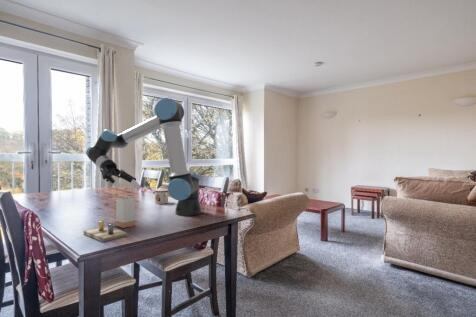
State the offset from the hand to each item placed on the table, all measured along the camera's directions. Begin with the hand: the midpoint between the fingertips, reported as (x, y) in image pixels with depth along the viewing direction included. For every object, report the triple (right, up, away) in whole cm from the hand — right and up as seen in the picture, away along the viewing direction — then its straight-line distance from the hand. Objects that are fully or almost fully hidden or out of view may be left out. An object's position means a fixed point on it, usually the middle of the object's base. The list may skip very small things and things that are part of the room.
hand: (129, 187), depth 138 cm
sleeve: (0, -18, -6) cm, 19 cm away
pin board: (-2, -18, -21) cm, 28 cm away
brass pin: (-5, -17, -19) cm, 26 cm away
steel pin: (+2, -17, -24) cm, 29 cm away
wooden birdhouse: (+3, -17, +50) cm, 53 cm away
